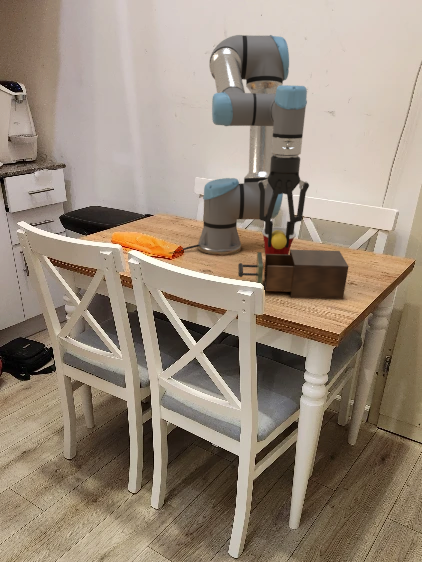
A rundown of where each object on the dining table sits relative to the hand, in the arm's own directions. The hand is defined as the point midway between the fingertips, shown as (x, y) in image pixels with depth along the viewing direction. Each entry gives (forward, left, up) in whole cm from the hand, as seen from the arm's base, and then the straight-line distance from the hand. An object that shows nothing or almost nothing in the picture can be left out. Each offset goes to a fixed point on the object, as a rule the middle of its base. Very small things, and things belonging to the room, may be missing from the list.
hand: (277, 245), depth 136 cm
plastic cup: (+2, +18, -13) cm, 22 cm away
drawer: (-1, 0, -12) cm, 12 cm away
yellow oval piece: (0, 0, 0) cm, 0 cm away
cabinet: (+12, 0, -13) cm, 17 cm away
